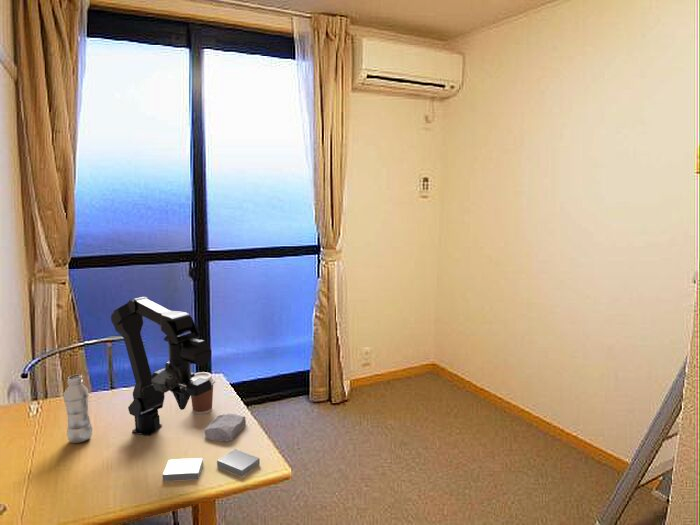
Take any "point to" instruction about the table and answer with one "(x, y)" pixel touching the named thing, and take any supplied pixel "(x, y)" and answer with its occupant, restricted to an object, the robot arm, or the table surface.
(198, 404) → the coffee cup
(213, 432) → the stone block
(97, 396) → the table surface
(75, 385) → the plastic bottle
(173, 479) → the twin tile
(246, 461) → the tile
